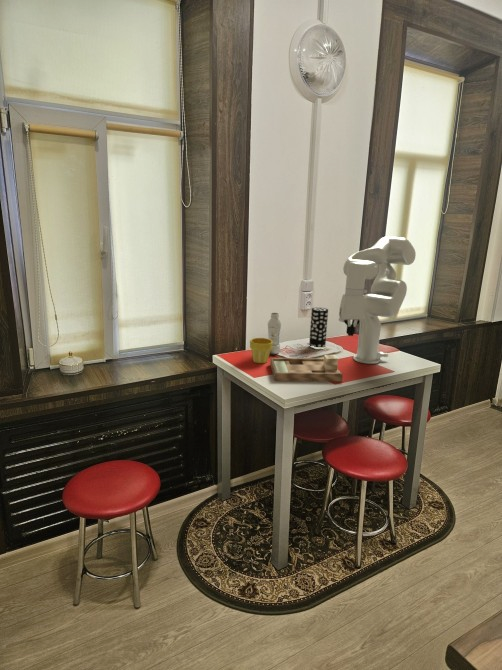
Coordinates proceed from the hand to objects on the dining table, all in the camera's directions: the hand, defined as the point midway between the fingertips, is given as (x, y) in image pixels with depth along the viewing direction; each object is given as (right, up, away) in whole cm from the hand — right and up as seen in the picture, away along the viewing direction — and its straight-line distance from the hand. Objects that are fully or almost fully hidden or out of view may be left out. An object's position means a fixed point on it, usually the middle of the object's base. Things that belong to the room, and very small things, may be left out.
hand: (350, 335), depth 185 cm
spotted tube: (-8, -7, +40) cm, 42 cm away
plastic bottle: (-31, -9, +28) cm, 43 cm away
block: (-8, -14, +4) cm, 17 cm away
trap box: (-19, -16, +4) cm, 25 cm away
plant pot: (-38, -12, +17) cm, 43 cm away
